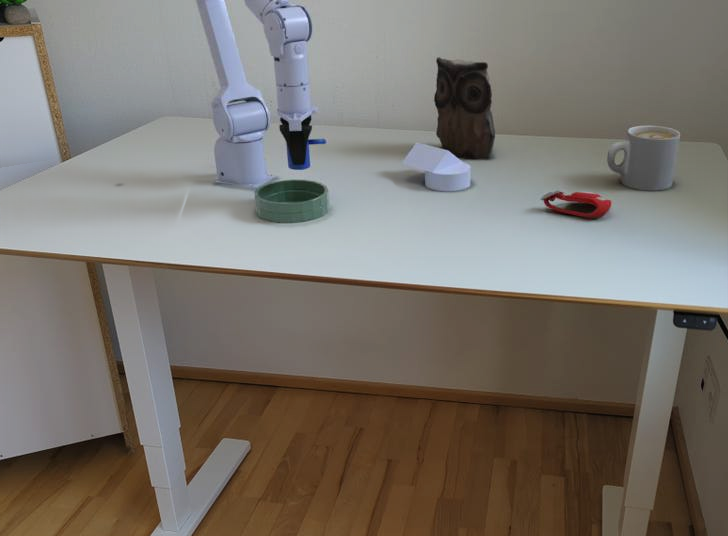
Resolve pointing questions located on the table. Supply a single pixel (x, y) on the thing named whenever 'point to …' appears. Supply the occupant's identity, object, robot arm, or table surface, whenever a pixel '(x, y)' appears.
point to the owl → (464, 108)
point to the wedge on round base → (439, 168)
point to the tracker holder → (581, 198)
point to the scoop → (307, 161)
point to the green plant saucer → (291, 201)
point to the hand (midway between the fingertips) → (298, 160)
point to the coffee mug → (647, 157)
